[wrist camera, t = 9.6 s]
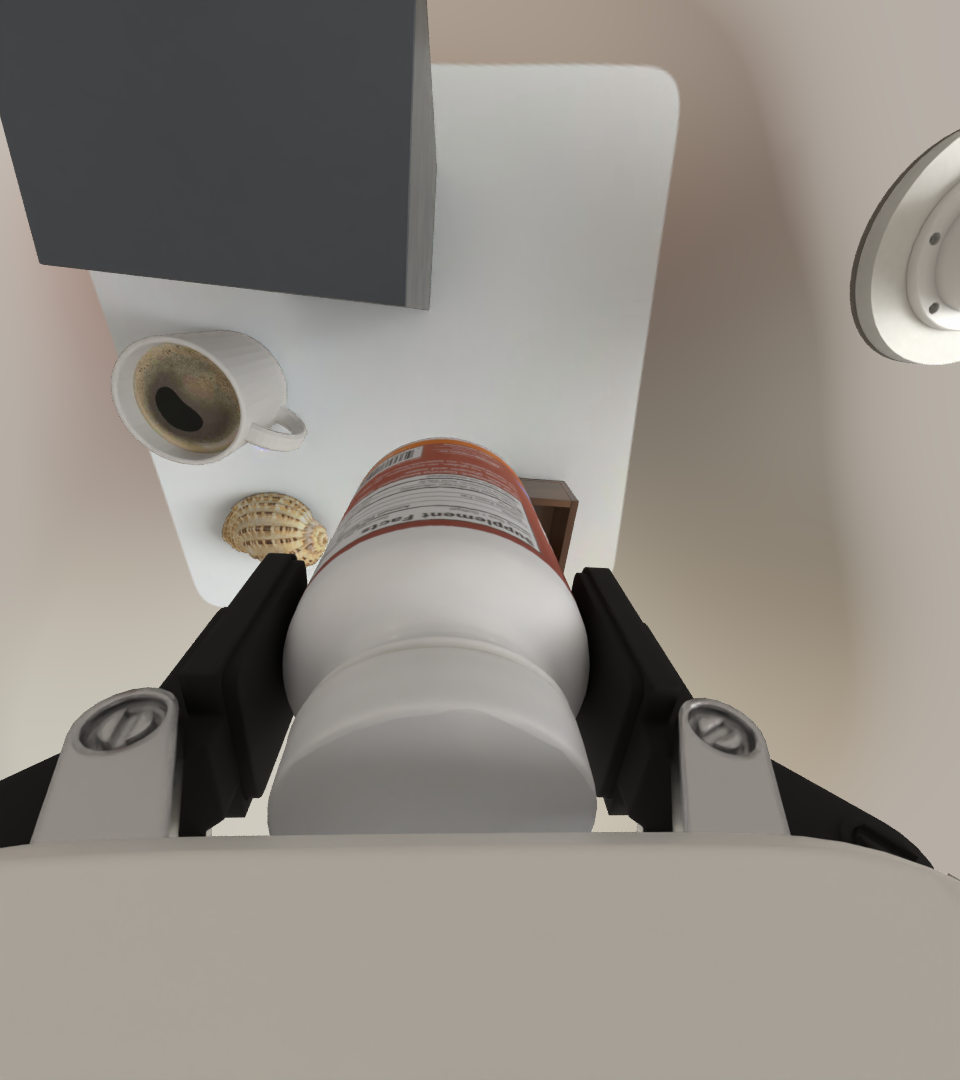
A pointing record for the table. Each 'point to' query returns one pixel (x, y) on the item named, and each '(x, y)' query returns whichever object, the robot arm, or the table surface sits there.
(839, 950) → the robot arm
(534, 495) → the wooden box
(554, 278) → the table surface
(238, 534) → the seashell
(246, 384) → the mug
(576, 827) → the pill bottle
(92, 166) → the block
